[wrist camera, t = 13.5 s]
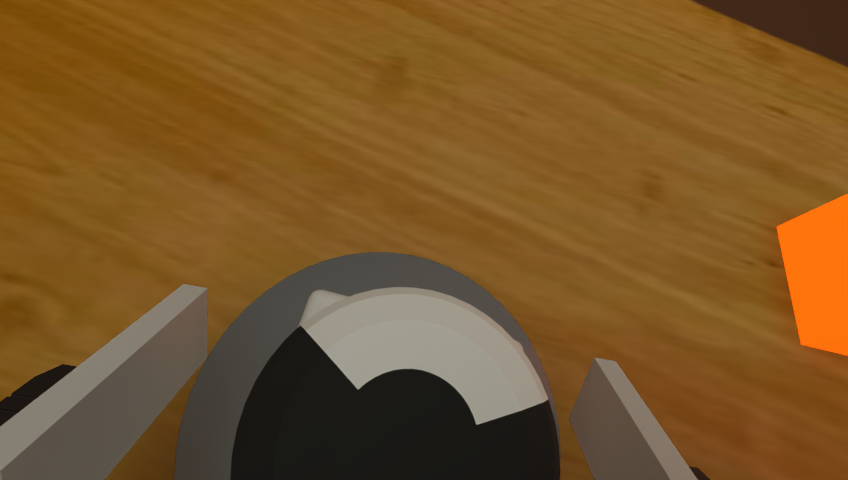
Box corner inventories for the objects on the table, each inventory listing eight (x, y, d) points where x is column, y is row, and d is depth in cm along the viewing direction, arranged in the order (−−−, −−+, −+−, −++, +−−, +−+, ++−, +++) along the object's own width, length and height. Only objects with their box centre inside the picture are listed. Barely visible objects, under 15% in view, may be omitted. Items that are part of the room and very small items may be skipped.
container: (444, 544, 17) (603, 810, 6) (272, 501, 17) (70, 684, 5) (474, 366, 21) (614, 300, 9) (330, 328, 21) (280, 211, 9)
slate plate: (417, 211, 26) (420, 199, 24) (615, 464, 21) (632, 467, 20) (125, 384, 20) (107, 381, 18) (313, 792, 15) (308, 829, 14)
